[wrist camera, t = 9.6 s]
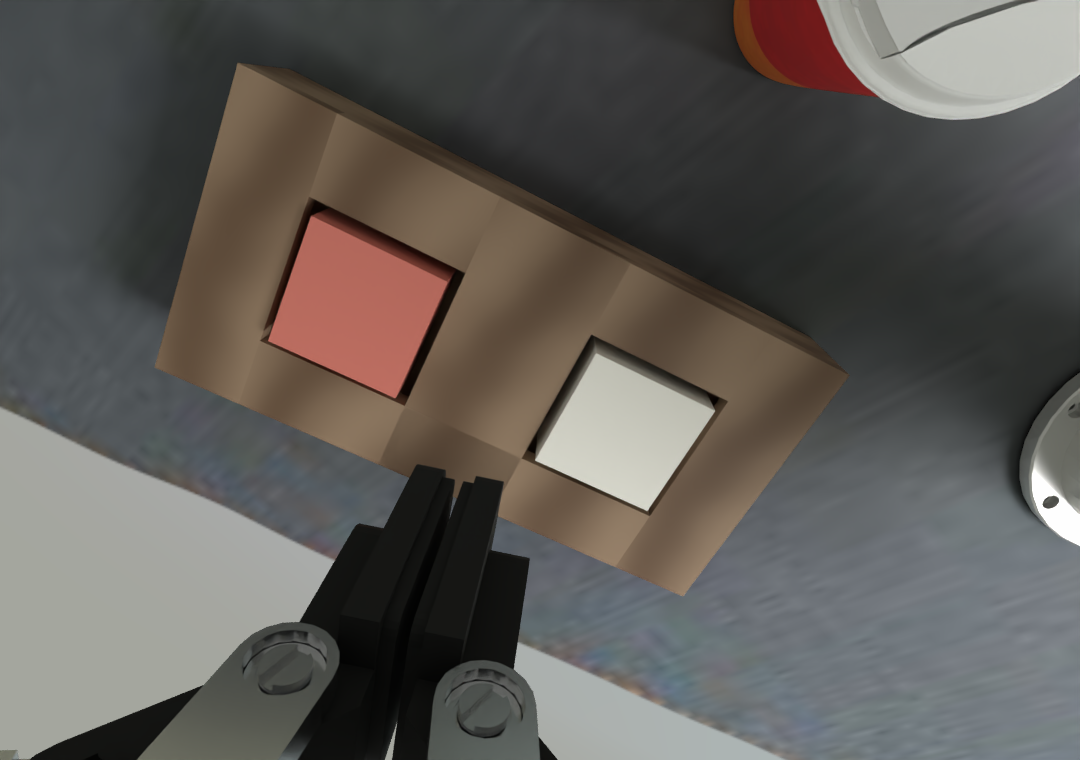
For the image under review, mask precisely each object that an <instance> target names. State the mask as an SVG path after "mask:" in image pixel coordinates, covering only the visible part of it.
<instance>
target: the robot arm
mask: <svg viewBox="0 0 1080 760" xmlns="http://www.w3.org/2000/svg"><path fill="white" fill-rule="evenodd" d="M1019 479H1020V484H1021V488H1022V492H1023V496H1024V498H1025V500H1026V502H1027V504H1028V505H1029V507H1030V509H1031V511H1032V512H1033V513H1034V514H1035V515H1036V516H1037V517H1038V518H1039V519H1040V520H1041V521H1042V523H1044V524H1045V525H1046V526H1047V527H1048V528H1050V529H1051V530H1052V531H1053V532H1055V533H1056V534H1057V535H1058V536H1059V537H1061V538H1063V539H1065V540H1067V541H1069V542H1071V543H1073V544H1075V545H1078V546H1080V373H1079V374H1077V375H1076V376H1075V377H1073V378H1072V379H1071V380H1069V381H1068V382H1067V383H1066V384H1065V385H1064V386H1063V387H1062V388H1061V389H1060V390H1059V391H1058V392H1057V393H1056V394H1055V395H1054V396H1053V397H1052V398H1051V399H1050V400H1049V401H1048V402H1047V404H1046V405H1045V407H1044V408H1043V409H1042V411H1041V412H1040V414H1039V415H1038V416H1037V418H1036V419H1035V421H1034V423H1033V425H1032V427H1031V429H1030V431H1029V433H1028V435H1027V437H1026V439H1025V442H1024V446H1023V450H1022V454H1021V458H1020V474H1019ZM503 485H504V481H499V480H494V479H490V478H485V477H480V476H476V477H475V480H474V483H471V482H466V481H463V483H462V486H461V489H460V492H459V494H458V497H457V500H456V503H455V505H454V508H453V511H452V514H451V517H450V512H451V505H452V499H453V492H454V486H455V479H451V478H446V470H445V469H440V468H435V467H430V466H426V465H421V464H417V465H416V466H415V468H414V470H413V472H412V474H411V476H410V478H409V480H408V482H407V484H406V486H405V488H404V490H403V492H402V493H401V495H400V497H399V499H398V501H397V503H396V505H395V507H394V509H393V511H392V513H391V515H390V517H389V519H388V521H387V523H386V525H385V527H384V528H379V527H374V526H369V525H364V524H358V525H356V526H355V528H354V529H353V531H352V532H351V534H350V536H349V538H348V539H347V541H346V543H345V544H344V546H343V548H342V550H341V551H340V553H339V555H338V556H337V558H336V560H335V562H334V563H333V565H332V567H331V569H330V570H329V572H328V574H327V575H326V577H325V579H324V581H323V582H322V584H321V586H320V587H319V589H318V591H317V593H316V595H315V596H314V598H313V599H312V601H311V603H310V605H309V606H308V608H307V610H306V612H305V613H304V615H303V617H302V618H301V620H300V622H294V623H293V622H291V623H280V624H277V625H273V626H269V627H266V628H264V629H262V630H260V631H258V632H256V633H254V634H252V635H251V636H250V637H249V638H247V639H246V640H245V641H244V642H243V643H242V644H240V645H239V646H238V648H237V649H236V650H235V651H234V652H233V653H232V654H231V655H230V656H229V658H228V659H227V660H226V661H225V662H224V663H223V664H222V665H221V667H220V668H219V669H218V670H217V671H216V672H215V673H214V674H213V675H212V676H211V678H210V679H209V680H208V681H207V682H206V683H205V684H204V685H202V686H200V687H197V688H195V689H193V690H190V691H188V692H185V693H182V694H180V695H177V696H175V697H173V698H170V699H167V700H165V701H163V702H160V703H157V704H155V705H152V706H150V707H148V708H145V709H142V710H140V711H138V712H135V713H132V714H130V715H127V716H125V717H123V718H120V719H118V720H115V721H113V722H110V723H107V724H105V725H102V726H100V727H97V728H95V729H92V730H90V731H88V732H85V733H83V734H80V735H77V736H75V737H73V738H70V739H67V740H65V741H63V742H60V743H58V744H56V745H54V746H52V747H50V748H48V749H46V750H44V751H42V752H40V753H38V754H36V755H35V756H34V757H32V758H31V759H19V756H18V751H17V750H2V751H0V760H385V757H386V754H387V751H388V748H389V745H390V742H391V739H392V736H393V732H394V729H395V726H396V723H397V728H396V735H395V743H394V750H393V758H392V760H557V758H556V757H555V756H554V755H553V754H552V752H551V751H550V750H549V749H548V748H547V746H546V745H545V744H544V743H543V741H542V740H541V739H540V738H539V737H538V724H537V710H536V702H535V698H534V695H533V691H532V690H531V688H530V687H529V685H528V683H527V682H526V680H525V679H524V678H523V677H522V676H521V675H519V674H518V673H517V672H516V671H515V670H514V663H515V656H516V649H517V643H518V636H519V629H520V622H521V616H522V609H523V602H524V595H525V589H526V582H527V575H528V568H529V561H530V558H526V557H521V556H516V555H511V554H507V553H502V552H497V551H492V550H491V549H492V543H493V538H494V533H495V528H496V522H497V517H498V512H499V507H500V501H501V496H502V491H503ZM449 518H450V519H449ZM397 720H398V721H397Z"/></svg>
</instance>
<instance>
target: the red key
mask: <svg viewBox="0 0 1080 760" xmlns="http://www.w3.org/2000/svg"><path fill="white" fill-rule="evenodd" d="M456 270H457V269H456V268H454V267H452V266H450V265H448V264H446V263H444V262H442V261H440V260H438V259H436V258H434V257H432V256H429V255H427V254H425V253H423V252H421V251H419V250H417V249H415V248H413V247H411V246H409V245H407V244H405V243H403V242H401V241H399V240H397V239H395V238H393V237H391V236H389V235H386V234H384V233H382V232H380V231H378V230H376V229H374V228H372V227H370V226H368V225H366V224H364V223H362V222H360V221H358V220H356V219H354V218H352V217H350V216H348V215H345V214H343V213H341V212H339V211H337V210H335V209H333V208H331V207H330V208H328V209H325V210H323V211H321V212H319V213H316V214H314V215H312V216H311V218H310V221H309V223H308V226H307V229H306V232H305V235H304V238H303V241H302V244H301V247H300V250H299V252H298V255H297V258H296V261H295V264H294V267H293V270H292V273H291V276H290V279H289V281H288V284H287V287H286V290H285V293H284V296H283V299H282V302H281V305H280V308H279V311H278V313H277V316H276V319H275V322H274V325H273V328H272V331H271V334H270V337H269V340H268V341H269V342H271V343H274V344H276V345H278V346H280V347H283V348H285V349H287V350H289V351H291V352H294V353H296V354H298V355H300V356H302V357H305V358H307V359H309V360H311V361H314V362H316V363H318V364H320V365H322V366H325V367H327V368H329V369H331V370H334V371H336V372H338V373H340V374H342V375H345V376H347V377H349V378H351V379H354V380H356V381H358V382H360V383H362V384H365V385H367V386H369V387H371V388H373V389H376V390H378V391H380V392H382V393H385V394H387V395H389V396H391V397H393V398H396V397H397V395H398V393H399V391H400V390H401V388H402V386H403V385H404V383H405V381H406V379H407V378H408V376H409V374H410V372H411V370H412V368H413V366H414V364H415V361H416V359H417V357H418V355H419V352H420V350H421V348H422V346H423V344H424V341H425V339H426V337H427V335H428V332H429V330H430V328H431V326H432V324H433V321H434V319H435V317H436V315H437V312H438V310H439V308H440V306H441V304H442V301H443V299H444V297H445V295H446V292H447V290H448V288H449V286H450V284H451V281H452V279H453V277H454V275H455V272H456Z"/></svg>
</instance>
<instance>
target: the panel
mask: <svg viewBox="0 0 1080 760" xmlns="http://www.w3.org/2000/svg"><path fill="white" fill-rule="evenodd" d="M330 207H331V208H333V209H335V210H337V211H339V212H341V213H343V214H345V215H348V216H350V217H352V218H354V219H356V220H358V221H360V222H362V223H364V224H366V225H368V226H370V227H372V228H374V229H376V230H378V231H380V232H382V233H384V234H386V235H389V236H391V237H393V238H395V239H397V240H399V241H401V242H403V243H405V244H407V245H409V246H411V247H413V248H415V249H417V250H419V251H421V252H423V253H425V254H427V255H429V256H432V257H434V258H436V259H438V260H440V261H442V262H444V263H446V264H448V265H450V266H452V267H454V268H456V269H457V270H456V272H455V275H454V277H453V279H452V281H451V284H450V286H449V288H448V290H447V292H446V295H445V297H444V299H443V301H442V304H441V306H440V308H439V310H438V312H437V315H436V317H435V319H434V321H433V324H432V326H431V328H430V330H429V332H428V335H427V337H426V339H425V341H424V344H423V346H422V348H421V350H420V352H419V355H418V357H417V359H416V361H415V364H414V366H413V368H412V370H411V372H410V374H409V376H408V378H407V379H406V381H405V383H404V385H403V386H402V388H401V390H400V391H399V393H398V395H397V397H396V398H393V397H391V396H389V395H387V394H385V393H382V392H380V391H378V390H376V389H373V388H371V387H369V386H367V385H365V384H362V383H360V382H358V381H356V380H354V379H351V378H349V377H347V376H345V375H342V374H340V373H338V372H336V371H334V370H331V369H329V368H327V367H325V366H322V365H320V364H318V363H316V362H314V361H311V360H309V359H307V358H305V357H302V356H300V355H298V354H296V353H294V352H291V351H289V350H287V349H285V348H283V347H280V346H278V345H276V344H274V343H271V342H269V341H268V340H269V337H270V334H271V331H272V328H273V325H274V322H275V319H276V316H277V313H278V311H279V308H280V305H281V302H282V299H283V296H284V293H285V290H286V287H287V284H288V281H289V279H290V276H291V273H292V270H293V267H294V264H295V261H296V258H297V255H298V252H299V250H300V247H301V244H302V241H303V238H304V235H305V232H306V229H307V226H308V223H309V221H310V218H311V216H312V215H314V214H316V213H319V212H321V211H323V210H325V209H328V208H330ZM591 335H593V336H595V337H597V338H599V339H602V340H604V341H606V342H608V343H610V344H612V345H614V346H616V347H618V348H620V349H622V350H624V351H626V352H628V353H630V354H632V355H634V356H636V357H638V358H640V359H642V360H645V361H647V362H649V363H651V364H653V365H655V366H657V367H659V368H661V369H663V370H665V371H667V372H669V373H671V374H673V375H675V376H677V377H679V378H681V379H683V380H685V381H688V382H690V383H692V384H694V385H696V386H698V387H700V388H702V389H704V390H706V393H707V395H708V397H709V399H710V401H711V403H712V405H713V407H714V409H715V412H714V414H713V415H712V416H711V418H710V419H709V421H708V422H707V424H706V425H705V427H704V428H703V430H702V431H701V433H700V434H699V436H698V437H697V439H696V440H695V442H694V443H693V444H692V446H691V447H690V449H689V450H688V452H687V453H686V455H685V456H684V458H683V459H682V461H681V462H680V464H679V465H678V467H677V468H676V470H675V471H674V472H673V474H672V475H671V477H670V478H669V480H668V481H667V483H666V484H665V486H664V487H663V489H662V490H661V492H660V493H659V495H658V496H657V498H656V499H655V500H654V502H653V503H652V505H651V506H650V508H649V509H648V511H646V510H644V509H642V508H639V507H637V506H635V505H633V504H631V503H628V502H626V501H624V500H622V499H620V498H617V497H615V496H613V495H611V494H608V493H606V492H604V491H602V490H600V489H597V488H595V487H593V486H591V485H588V484H586V483H584V482H582V481H580V480H577V479H575V478H573V477H571V476H569V475H566V474H564V473H562V472H560V471H557V470H555V469H553V468H551V467H549V466H546V465H544V464H542V463H540V462H537V461H535V456H536V445H537V434H538V429H539V428H540V426H541V424H542V422H543V420H544V419H545V417H546V415H547V413H548V411H549V410H550V408H551V406H552V404H553V403H554V401H555V399H556V397H557V395H558V394H559V392H560V390H561V388H562V387H563V385H564V383H565V381H566V379H567V378H568V376H569V374H570V372H571V370H572V369H573V367H574V365H575V363H576V362H577V360H578V358H579V356H580V354H581V353H582V351H583V349H584V347H585V345H586V344H587V342H588V340H589V338H590V337H591ZM155 368H157V369H159V370H162V371H164V372H166V373H169V374H171V375H173V376H176V377H178V378H180V379H183V380H185V381H187V382H189V383H192V384H194V385H196V386H199V387H201V388H203V389H206V390H208V391H210V392H213V393H215V394H217V395H219V396H222V397H224V398H226V399H229V400H231V401H233V402H236V403H238V404H240V405H243V406H245V407H247V408H249V409H252V410H254V411H256V412H259V413H261V414H263V415H266V416H268V417H270V418H273V419H275V420H277V421H279V422H282V423H284V424H286V425H289V426H291V427H293V428H296V429H298V430H300V431H303V432H305V433H307V434H309V435H312V436H314V437H316V438H319V439H321V440H323V441H326V442H328V443H330V444H333V445H335V446H337V447H339V448H342V449H344V450H346V451H349V452H351V453H353V454H356V455H358V456H360V457H363V458H365V459H367V460H369V461H372V462H374V463H376V464H379V465H381V466H383V467H386V468H388V469H390V470H393V471H395V472H397V473H399V474H402V475H404V476H406V477H409V478H410V476H411V474H412V472H413V470H414V468H415V466H416V465H417V464H421V465H426V466H430V467H435V468H440V469H445V470H446V478H451V479H455V486H454V492H453V497H455V498H457V497H458V494H459V492H460V489H461V486H462V483H463V481H466V482H471V483H474V480H475V477H476V476H480V477H485V478H490V479H494V480H499V481H504V485H503V491H502V496H501V501H500V507H499V512H498V516H499V517H501V518H503V519H506V520H508V521H510V522H513V523H515V524H517V525H519V526H522V527H524V528H526V529H529V530H531V531H533V532H536V533H538V534H540V535H543V536H545V537H547V538H549V539H552V540H554V541H556V542H559V543H561V544H563V545H566V546H568V547H570V548H573V549H575V550H577V551H579V552H582V553H584V554H586V555H589V556H591V557H593V558H596V559H598V560H600V561H603V562H605V563H607V564H609V565H612V566H614V567H616V568H619V569H621V570H623V571H626V572H628V573H630V574H633V575H635V576H637V577H639V578H642V579H644V580H646V581H649V582H651V583H653V584H656V585H658V586H660V587H663V588H665V589H667V590H669V591H672V592H674V593H676V594H679V595H681V596H684V594H685V593H686V592H687V590H688V589H689V588H690V586H691V585H692V584H693V582H694V581H695V580H696V578H697V577H698V576H699V574H700V573H701V572H702V570H703V569H704V568H705V566H706V565H707V564H708V562H709V561H710V560H711V558H712V557H713V556H714V554H715V553H716V552H717V550H718V549H719V548H720V546H721V545H722V544H723V543H724V541H725V540H726V539H727V537H728V536H729V535H730V533H731V532H732V531H733V529H734V528H735V527H736V525H737V524H738V523H739V521H740V520H741V519H742V517H743V516H744V515H745V513H746V512H747V511H748V509H749V508H750V507H751V505H752V504H753V503H754V501H755V500H756V499H757V497H758V496H759V495H760V493H761V492H762V491H763V490H764V488H765V487H766V486H767V484H768V483H769V482H770V480H771V479H772V478H773V476H774V475H775V474H776V472H777V471H778V470H779V468H780V467H781V466H782V464H783V463H784V462H785V460H786V459H787V458H788V456H789V455H790V454H791V452H792V451H793V450H794V448H795V447H796V446H797V444H798V443H799V442H800V441H801V439H802V438H803V437H804V435H805V434H806V433H807V431H808V430H809V429H810V427H811V426H812V425H813V423H814V422H815V421H816V419H817V418H818V417H819V415H820V414H821V413H822V411H823V410H824V409H825V407H826V406H827V405H828V403H829V402H830V401H831V399H832V398H833V397H834V395H835V394H836V393H837V391H838V390H839V389H840V388H841V386H842V385H843V384H844V382H845V381H846V380H847V378H848V377H849V376H850V375H849V374H848V373H847V372H846V371H845V370H844V369H843V368H842V367H841V366H840V365H839V364H838V363H836V362H835V361H834V360H833V359H832V358H831V357H830V356H829V355H828V354H827V353H826V352H825V351H824V350H823V349H822V348H821V347H820V346H819V345H818V344H817V343H816V342H815V341H814V340H813V339H812V338H811V337H809V336H807V335H805V334H803V333H801V332H799V331H797V330H795V329H793V328H791V327H789V326H787V325H785V324H783V323H782V322H780V321H778V320H776V319H774V318H772V317H770V316H768V315H766V314H764V313H762V312H760V311H758V310H756V309H754V308H752V307H750V306H749V305H747V304H745V303H743V302H741V301H739V300H737V299H735V298H733V297H731V296H729V295H727V294H725V293H723V292H721V291H719V290H718V289H716V288H714V287H712V286H710V285H708V284H706V283H704V282H702V281H700V280H698V279H696V278H694V277H692V276H690V275H688V274H686V273H685V272H683V271H681V270H679V269H677V268H675V267H673V266H671V265H669V264H667V263H665V262H663V261H661V260H659V259H657V258H655V257H653V256H652V255H650V254H648V253H646V252H644V251H642V250H640V249H638V248H636V247H634V246H632V245H630V244H628V243H626V242H624V241H622V240H621V239H619V238H617V237H615V236H613V235H611V234H609V233H607V232H605V231H603V230H601V229H599V228H597V227H595V226H593V225H591V224H589V223H588V222H586V221H584V220H582V219H580V218H578V217H576V216H574V215H572V214H570V213H568V212H566V211H564V210H562V209H560V208H558V207H556V206H555V205H553V204H551V203H549V202H547V201H545V200H543V199H541V198H539V197H537V196H535V195H533V194H531V193H529V192H527V191H525V190H524V189H522V188H520V187H518V186H516V185H514V184H512V183H510V182H508V181H506V180H504V179H502V178H500V177H498V176H496V175H494V174H492V173H491V172H489V171H487V170H485V169H483V168H481V167H479V166H477V165H475V164H473V163H471V162H469V161H467V160H465V159H463V158H461V157H459V156H458V155H456V154H454V153H452V152H450V151H448V150H446V149H444V148H442V147H440V146H438V145H436V144H434V143H432V142H430V141H428V140H427V139H425V138H423V137H421V136H419V135H417V134H415V133H413V132H411V131H409V130H407V129H405V128H403V127H401V126H399V125H397V124H395V123H394V122H392V121H390V120H388V119H386V118H384V117H382V116H380V115H378V114H376V113H374V112H372V111H370V110H368V109H366V108H364V107H362V106H361V105H359V104H357V103H355V102H353V101H351V100H349V99H347V98H345V97H343V96H341V95H339V94H337V93H335V92H333V91H331V90H330V89H328V88H326V87H324V86H322V85H320V84H318V83H316V82H314V81H312V80H310V79H308V78H306V77H304V76H302V75H300V74H298V73H297V72H295V71H293V70H291V69H286V68H277V67H269V66H261V65H253V64H244V63H238V64H237V68H236V71H235V75H234V79H233V82H232V86H231V90H230V93H229V97H228V101H227V104H226V108H225V112H224V115H223V119H222V123H221V126H220V130H219V134H218V137H217V141H216V145H215V148H214V152H213V156H212V159H211V163H210V167H209V170H208V174H207V178H206V181H205V185H204V189H203V192H202V196H201V200H200V203H199V207H198V211H197V214H196V218H195V222H194V225H193V229H192V233H191V236H190V240H189V244H188V247H187V251H186V254H185V258H184V262H183V265H182V269H181V273H180V276H179V280H178V284H177V287H176V291H175V295H174V298H173V302H172V306H171V309H170V313H169V317H168V320H167V324H166V328H165V331H164V335H163V339H162V342H161V346H160V350H159V353H158V357H157V361H156V364H155Z"/></svg>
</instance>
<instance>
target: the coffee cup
mask: <svg viewBox="0 0 1080 760" xmlns="http://www.w3.org/2000/svg"><path fill="white" fill-rule="evenodd" d="M733 20H734V30H735V35H736V39H737V42H738V45H739V47H740V49H741V51H742V53H743V55H744V57H745V58H746V60H747V61H748V62H749V63H750V64H751V66H752V67H753V68H754V69H756V70H757V71H758V72H759V73H761V74H762V75H764V76H765V77H767V78H769V79H771V80H774V81H777V82H780V83H783V84H787V85H792V86H798V87H805V88H812V89H818V90H826V91H834V92H841V93H849V94H857V95H865V96H874V97H880V98H881V99H882V100H884V101H886V102H888V103H890V104H892V105H894V106H896V107H898V108H900V109H902V110H904V111H908V112H911V113H914V114H918V115H921V116H925V117H930V118H939V119H949V120H960V119H976V118H983V117H988V116H992V115H997V114H1002V113H1006V112H1009V111H1012V110H1014V109H1017V108H1020V107H1022V106H1025V105H1028V104H1030V103H1033V102H1035V101H1037V100H1039V99H1041V98H1043V97H1045V96H1047V95H1048V94H1050V93H1052V92H1054V91H1056V90H1058V89H1060V88H1061V87H1063V86H1064V85H1066V84H1067V83H1068V82H1070V81H1071V80H1073V79H1074V78H1076V77H1077V76H1078V75H1080V0H735V3H734V12H733Z"/></svg>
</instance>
